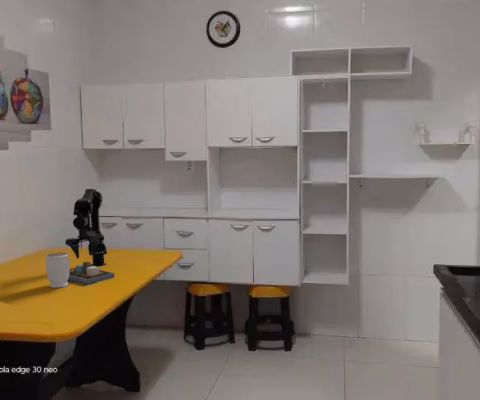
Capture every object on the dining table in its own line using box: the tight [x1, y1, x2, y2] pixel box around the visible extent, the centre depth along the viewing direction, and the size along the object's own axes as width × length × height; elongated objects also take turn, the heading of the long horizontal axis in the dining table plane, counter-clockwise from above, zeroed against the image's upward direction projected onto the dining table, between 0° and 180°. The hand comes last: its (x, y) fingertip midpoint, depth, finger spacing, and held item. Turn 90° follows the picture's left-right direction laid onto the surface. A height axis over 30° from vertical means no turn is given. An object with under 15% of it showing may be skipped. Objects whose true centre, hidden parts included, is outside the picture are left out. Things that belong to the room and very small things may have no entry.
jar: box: [44, 252, 71, 289], centre depth 234 cm, size 11×10×15 cm
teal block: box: [75, 263, 83, 274], centre depth 250 cm, size 4×4×4 cm
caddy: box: [69, 261, 105, 279], centre depth 247 cm, size 18×8×7 cm, turn 52°
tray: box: [67, 269, 115, 286], centre depth 248 cm, size 23×16×2 cm
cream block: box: [87, 266, 100, 276], centre depth 245 cm, size 4×4×4 cm
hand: (86, 256), depth 247 cm, fingers open, 9 cm apart
